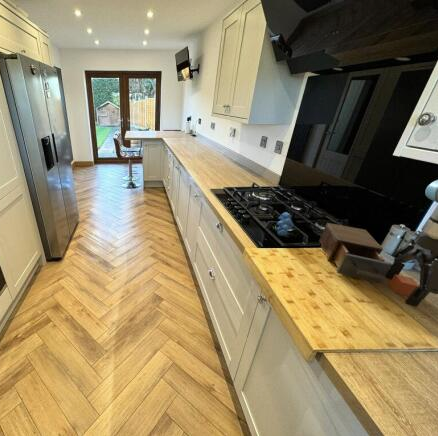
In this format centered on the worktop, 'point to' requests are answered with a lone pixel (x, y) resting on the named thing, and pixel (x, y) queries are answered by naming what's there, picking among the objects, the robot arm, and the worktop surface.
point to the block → (403, 285)
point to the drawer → (360, 262)
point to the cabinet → (345, 239)
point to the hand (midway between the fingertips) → (399, 290)
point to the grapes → (284, 224)
